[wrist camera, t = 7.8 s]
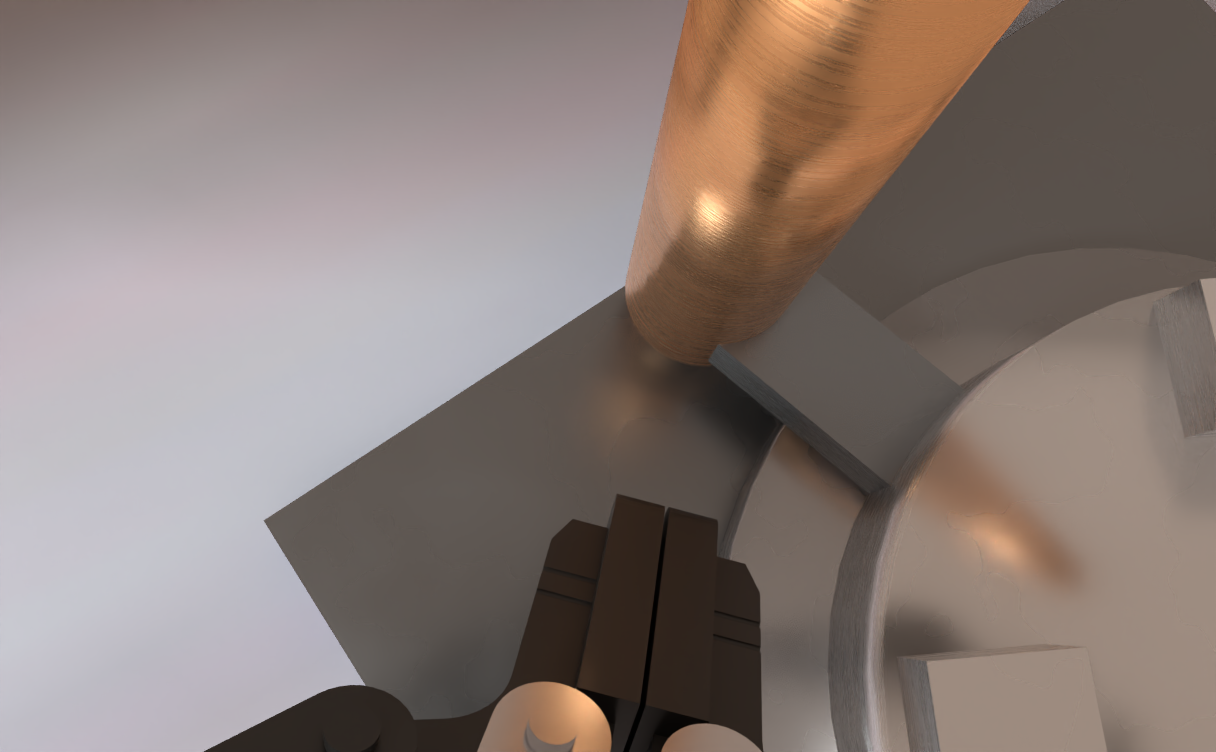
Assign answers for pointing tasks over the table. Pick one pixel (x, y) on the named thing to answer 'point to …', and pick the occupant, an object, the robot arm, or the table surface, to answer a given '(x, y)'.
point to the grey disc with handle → (939, 403)
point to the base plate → (735, 422)
